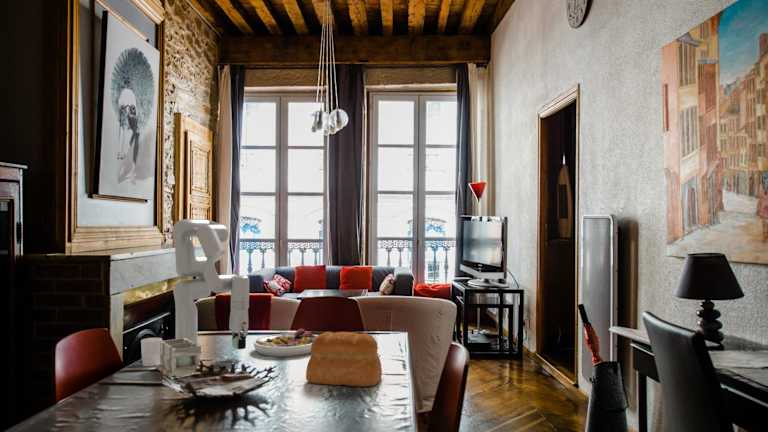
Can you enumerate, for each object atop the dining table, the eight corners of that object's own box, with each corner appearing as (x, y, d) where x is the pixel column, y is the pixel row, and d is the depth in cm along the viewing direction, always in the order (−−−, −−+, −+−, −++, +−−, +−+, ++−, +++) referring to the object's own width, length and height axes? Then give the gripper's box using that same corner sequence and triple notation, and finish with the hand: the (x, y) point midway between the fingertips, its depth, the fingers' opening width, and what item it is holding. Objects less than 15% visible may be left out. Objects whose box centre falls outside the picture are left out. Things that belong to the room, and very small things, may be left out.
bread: (374, 389, 174) (374, 338, 175) (302, 384, 180) (302, 335, 181) (384, 376, 190) (384, 329, 190) (317, 372, 195) (317, 327, 196)
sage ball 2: (229, 348, 219) (230, 335, 219) (242, 347, 222) (242, 334, 223) (235, 351, 215) (235, 338, 215) (247, 349, 218) (248, 336, 218)
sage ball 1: (173, 369, 196) (173, 354, 196) (188, 366, 199) (188, 352, 199) (178, 372, 191) (178, 357, 191) (193, 369, 195) (193, 354, 195)
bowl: (301, 361, 214) (301, 342, 214) (240, 356, 224) (240, 338, 224) (331, 345, 242) (331, 329, 243) (276, 341, 252) (276, 325, 252)
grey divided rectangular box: (156, 367, 204) (156, 341, 204) (187, 362, 211) (187, 337, 211) (171, 379, 187) (171, 350, 187) (204, 373, 194) (204, 346, 195)
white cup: (153, 367, 205) (154, 341, 205) (136, 366, 206) (136, 341, 207) (166, 362, 213) (166, 337, 213) (149, 361, 214) (149, 337, 214)
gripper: (223, 302, 223) (222, 344, 223) (239, 308, 210) (238, 352, 210) (240, 301, 228) (239, 342, 228) (256, 307, 214) (255, 350, 214)
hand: (238, 346), depth 219 cm, fingers closed on sage ball 2, 5 cm apart
